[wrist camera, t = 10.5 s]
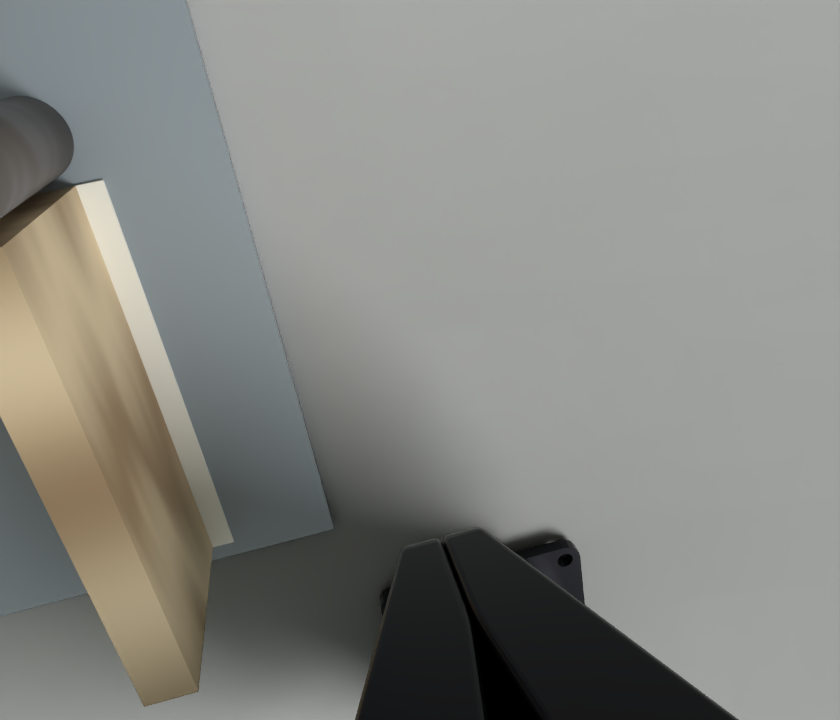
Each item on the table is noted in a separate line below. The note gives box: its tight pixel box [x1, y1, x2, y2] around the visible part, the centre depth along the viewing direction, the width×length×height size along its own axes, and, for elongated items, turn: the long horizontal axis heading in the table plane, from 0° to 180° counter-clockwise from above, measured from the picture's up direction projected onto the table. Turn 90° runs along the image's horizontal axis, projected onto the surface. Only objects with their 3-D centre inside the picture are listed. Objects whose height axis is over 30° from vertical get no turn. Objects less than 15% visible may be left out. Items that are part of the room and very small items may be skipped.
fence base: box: [0, 96, 213, 707], centre depth 15 cm, size 12×2×6 cm, turn 10°
